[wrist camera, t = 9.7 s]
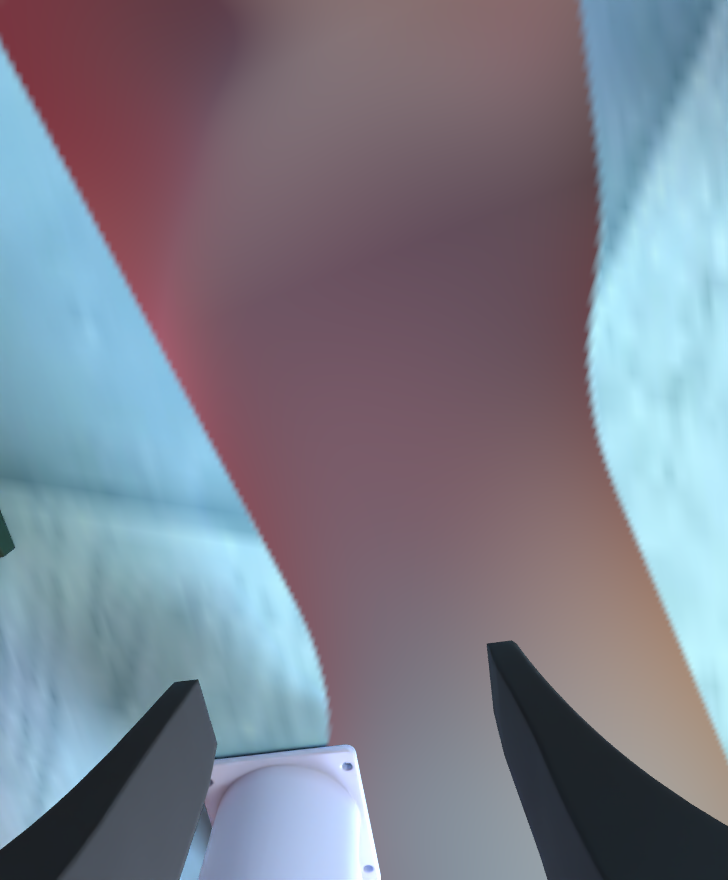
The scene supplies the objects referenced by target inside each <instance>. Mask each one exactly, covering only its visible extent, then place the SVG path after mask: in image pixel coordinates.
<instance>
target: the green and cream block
mask: <svg viewBox="0 0 728 880" xmlns="http://www.w3.org/2000/svg"><path fill="white" fill-rule="evenodd" d="M14 548H15V546H14V544H13V541H12V539H11V536H10V534H9V531H8V529H7V526H6V524H5V521H4V519H3V516H2V514H1V511H0V557H4V556H6V555H7V554H8V553H9V552H11V551H12V550H13V549H14Z"/></svg>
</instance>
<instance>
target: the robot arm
mask: <svg viewBox="0 0 728 880" xmlns="http://www.w3.org/2000/svg"><path fill="white" fill-rule="evenodd" d="M487 651H488V661H489V670H490V680H491V690H492V700H493V709H494V715H495V718H496V723H497V727H498V731H499V735H500V739H501V743H502V747H503V751H504V755H505V758H506V761H507V764H508V767H509V769H510V772H511V775H512V778H513V781H514V783H515V786H516V789H517V792H518V795H519V797H520V800H521V803H522V806H523V809H524V812H525V814H526V817H527V820H528V823H529V825H530V828H531V831H532V834H533V837H534V839H535V842H536V845H537V848H538V851H539V853H540V857H541V860H542V863H543V866H544V870H545V873H546V876H547V879H548V880H728V826H727V825H725V824H723V823H721V822H720V821H718V820H716V819H715V818H713V817H711V816H710V815H708V814H707V813H705V812H703V811H702V810H700V809H699V808H697V807H695V806H694V805H692V804H690V803H689V802H688V801H686V800H685V799H683V798H682V797H680V796H679V795H677V794H676V793H674V792H673V791H671V790H670V789H668V788H667V787H666V786H664V785H663V784H661V783H660V782H658V781H657V780H655V779H654V778H653V777H651V776H650V775H649V774H647V773H646V772H645V771H643V770H642V769H640V768H639V767H638V766H637V765H636V764H634V763H633V762H632V761H630V760H629V759H628V758H627V757H625V756H624V755H623V754H622V753H621V752H619V751H618V750H617V749H616V748H615V747H613V746H612V745H611V744H610V743H609V742H608V741H606V740H605V739H604V738H603V737H602V736H601V735H600V734H598V733H597V732H596V731H595V730H594V729H593V728H592V727H591V726H590V725H589V724H588V723H587V722H586V721H585V720H584V719H583V718H581V717H580V716H579V715H578V714H577V713H576V712H575V711H574V710H573V709H572V708H571V707H570V706H569V705H568V704H567V703H566V702H565V700H564V699H563V698H562V697H561V696H560V695H559V694H558V693H557V692H556V691H555V690H554V689H553V688H552V687H551V686H550V684H549V683H548V682H547V681H546V680H545V679H544V678H543V677H542V675H541V674H540V673H539V672H538V671H537V669H536V668H535V667H534V666H533V665H532V663H531V662H530V661H529V660H528V658H527V657H526V656H525V655H524V653H523V652H522V651H521V649H520V648H519V647H518V645H517V644H516V643H515V642H513V641H505V642H496V643H488V644H487ZM216 748H217V741H216V738H215V734H214V731H213V728H212V724H211V721H210V717H209V714H208V711H207V707H206V704H205V701H204V697H203V694H202V690H201V687H200V684H199V680H198V679H197V680H189V681H181V682H174V683H173V684H172V686H171V687H170V688H169V689H168V690H167V691H166V692H165V693H164V694H163V695H162V696H161V697H160V698H159V699H158V700H157V701H156V703H155V704H154V705H153V706H152V707H151V708H150V709H149V710H148V711H147V712H146V714H145V715H144V716H143V717H142V718H141V719H140V720H139V721H138V722H137V723H136V725H135V726H134V727H133V728H132V729H131V730H130V731H129V732H128V733H127V734H126V735H125V736H124V737H123V738H122V740H121V741H120V742H119V743H118V744H117V745H116V746H115V747H114V748H113V749H112V750H111V751H110V752H109V753H108V754H107V755H106V756H105V757H104V758H103V759H102V760H101V761H100V762H99V763H98V764H97V765H96V766H95V767H94V768H93V769H92V770H91V771H90V772H89V773H88V774H87V775H86V776H85V777H84V778H83V779H82V780H81V781H80V782H79V783H78V784H77V785H76V786H75V787H74V788H73V789H72V790H71V791H70V792H69V793H68V794H66V795H65V796H64V797H63V798H62V799H61V800H60V801H59V802H58V803H57V804H55V805H54V806H53V807H52V808H51V809H50V810H49V811H47V812H46V813H45V814H44V815H43V816H42V817H40V818H39V819H38V820H37V821H36V822H35V823H34V824H32V825H31V826H30V827H29V828H27V829H26V830H25V831H24V832H22V833H21V834H20V835H19V836H17V837H16V838H15V839H14V840H12V841H11V842H10V843H8V844H7V845H6V846H5V847H3V848H2V849H1V850H0V880H179V879H180V876H181V873H182V870H183V867H184V864H185V861H186V858H187V855H188V852H189V849H190V845H191V842H192V839H193V836H194V833H195V830H196V827H197V824H198V821H199V817H200V814H201V811H202V808H203V805H204V803H205V806H206V809H207V812H208V816H209V819H210V822H211V825H212V831H211V835H210V839H209V842H208V846H207V849H206V853H205V857H204V860H203V864H202V867H201V871H200V875H199V878H198V880H380V870H379V865H378V860H377V855H376V851H375V845H374V840H373V835H372V831H371V825H370V820H369V815H368V811H367V805H366V801H365V796H364V791H363V786H362V781H361V776H360V771H359V766H358V761H357V756H356V751H355V749H354V748H353V747H352V746H350V745H337V746H328V747H319V748H310V749H302V750H293V751H285V752H276V753H267V754H259V755H250V756H241V757H233V758H224V759H215V753H216ZM214 759H215V760H214ZM346 762H348V763H349V764H345V763H346Z"/></svg>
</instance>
